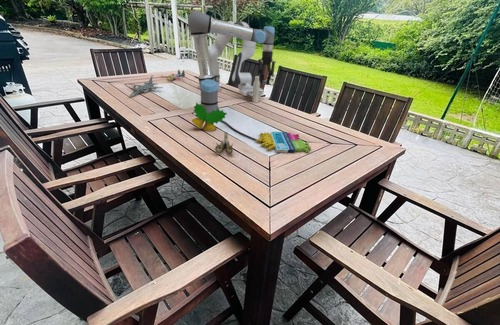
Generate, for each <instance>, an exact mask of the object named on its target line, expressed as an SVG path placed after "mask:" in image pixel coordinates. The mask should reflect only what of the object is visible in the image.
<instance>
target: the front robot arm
mask: <svg viewBox="0 0 500 325" xmlns="http://www.w3.org/2000/svg"><path fill="white" fill-rule="evenodd" d="M233 23H234V22H233ZM233 23H229V22H228V21H225V20H221V19H216V18H214V17H213V16H212V15H208V14H206V13H204V12H202V11H199V10H193V11H191V12H190V13H189V15H188V18H187V24H188V26H189V27H188V29H189V33H190V36H191V37H192V39H193V42H194V49H195V55H196V60H197V66H198V70H199V75H198V76H197V77H198V78H197V79H198V83H199V86H200V88H199V89H200V104H201V106H204V109H206V112H208V113H211V112H212V110H214V111H216V110H217V109H219V111H221V110H220V108H219V102H218V99H219V98H218V97H219V94H218V93H219V91H218V84H217V82H216V81H215V76H214V74H212V70H211V64H210V57H209V51H208V46H209V45H208V39H207V38H208V37H207V36H208V35H209V34H211V33H214V34H222V35H226V36H231V37H232V38H236V39H239V40H243V39H244V40H247V41H252V42H256V44H262V51H261V52H262V53H261V54H262V55H261V58H259V59H257V61H258V68H257V70H258V72H257V73H258V74H259V75H260V76H259V80H260V85H263V84H262V80H265V73H264V72H265V69H266V67H267V76H266V80H267V85H266V86H269V85H270V83H271V82H270V81H271V79H272V76H274V73H275V65H276V63H277V62H276V60H274V59H273V53H274V43H275V35H276V33H275V31H276V29H275V27H274V26H268V25H267V26H264V27H263V29H260V28H259V29H258V28H252V27H250V28H249V27H245V26H241V25H237V24H233ZM208 113H207V115H208ZM222 123H224V124H225V125H226V126H227V127H228V128H230V129H231V130H232V131H234V132H236V133H238V134H240V135H242V136H243V137H246V138H248V139H251V140H253V141H255V142H256V141H257V139H258V138H255V137H252V136H249V135H248V134H245V133H243V132H241V131H239V130H238V129H236V128H234V127H233V126H231V125H230V124H229V123H228V122H226V121H225V120H223V119H222ZM262 143H263V142H260V143H259V144H262Z"/></svg>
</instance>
